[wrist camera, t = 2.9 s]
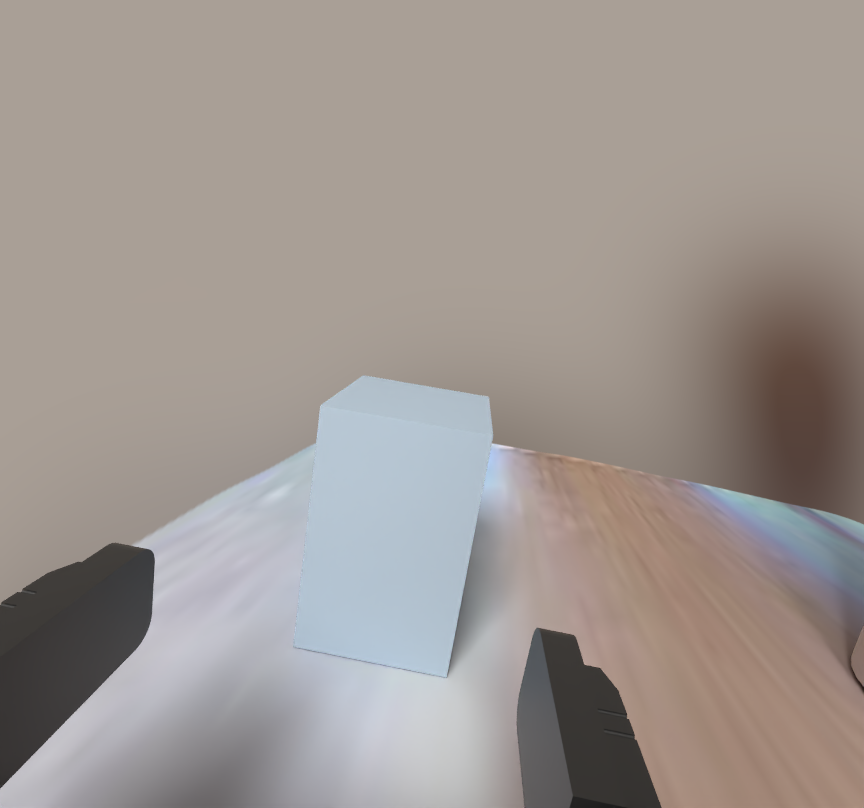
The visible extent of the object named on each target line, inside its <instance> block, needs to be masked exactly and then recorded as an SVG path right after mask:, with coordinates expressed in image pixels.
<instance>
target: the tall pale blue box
mask: <svg viewBox="0 0 864 808" xmlns="http://www.w3.org/2000/svg"><path fill="white" fill-rule="evenodd" d="M492 439H493V430H492V421H491V413H490V404H489V397H486V396H481V395H475V394H469V393H463V392H457V391H451V390H446V389H440V388H434V387H428V386H422V385H417V384H411V383H405V382H398V381H393V380H387V379H381V378H375V377H370V376H364V375H363V376H362V377H360V378H359V379H357V380H356V381H355V382H353V383H352V384H350V385H349V386H347V387H346V388H345V389H343V390H342V391H340V392H339V393H337V394H336V395H335V396H333V397H332V398H330V399H329V400H327V401H326V402H325V403H323V404H322V405H320V415H319V424H318V433H317V441H316V450H315V459H314V468H313V477H312V485H311V494H310V503H309V512H308V521H307V530H306V539H305V548H304V556H303V565H302V574H301V583H300V592H299V601H298V610H297V619H296V628H295V636H294V645H293V647H296V648H301V649H306V650H311V651H316V652H321V653H326V654H331V655H336V656H341V657H346V658H351V659H356V660H361V661H366V662H371V663H376V664H381V665H386V666H391V667H396V668H401V669H406V670H411V671H416V672H421V673H426V674H431V675H436V676H441V677H446V678H447V673H448V668H449V663H450V658H451V652H452V647H453V642H454V637H455V632H456V626H457V621H458V616H459V611H460V606H461V600H462V595H463V590H464V585H465V580H466V574H467V569H468V564H469V559H470V554H471V548H472V543H473V538H474V533H475V528H476V522H477V517H478V512H479V507H480V502H481V496H482V491H483V486H484V481H485V476H486V470H487V465H488V460H489V455H490V450H491V444H492Z"/></svg>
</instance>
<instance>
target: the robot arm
mask: <svg viewBox="0 0 864 808" xmlns="http://www.w3.org/2000/svg"><path fill="white" fill-rule="evenodd" d="M154 565H155V558H154V554H153V552H152V551H151V550H149V549H144V548H139V547H134V546H129V545H124V544H119V543H111V544H109V545H108V546H106V547H104V548H103V549H101V550H100V551H98V552H97V553H95V554H94V555H92V556H91V557H89V558H87V559H86V560H85V561H83V562H76V563H74V564H71V565H68V566H66V567H63V568H60V569H57V570H55V571H52V572H50V573H47V574H45V575H44V576H42V577H41V578H39V579H38V580H36V581H34V582H33V583H31V584H30V585H28V586H26V587H25V588H23V590H22V592H21V593H20V592H17V593H16V594H14V595H12V596H11V597H9V598H8V599H6V600H5V601H3V602H2V603H1V605H0V788H1V787H2V786H3V785H4V784H5V783H6V782H7V781H8V780H9V779H10V778H11V777H12V776H13V775H14V774H15V773H16V772H17V771H18V770H19V769H20V768H21V767H22V766H23V765H24V764H25V762H26V761H27V760H28V759H29V758H30V757H31V756H32V755H33V754H34V753H35V752H36V751H37V750H38V749H39V748H40V747H41V746H42V745H43V744H44V743H45V742H46V741H47V740H48V739H49V738H50V737H51V736H52V735H53V734H54V733H55V732H56V731H57V730H58V729H59V728H60V727H61V726H62V725H63V724H64V723H65V721H66V720H67V719H68V718H69V717H70V716H71V715H72V714H73V713H74V712H75V711H76V710H77V709H78V708H79V707H80V706H81V705H82V704H83V703H84V702H85V701H86V700H87V699H88V698H89V697H90V696H91V695H92V694H93V693H94V692H95V691H96V690H97V689H98V688H99V687H100V686H101V685H102V684H103V683H104V682H105V680H106V679H107V678H108V677H109V676H110V675H111V674H112V673H113V672H114V671H115V670H116V669H117V668H118V667H119V666H120V665H121V664H122V663H123V662H124V661H125V660H126V659H127V658H128V657H129V656H130V655H131V654H132V653H133V652H134V651H135V650H136V649H137V647H138V646H139V645H140V644H141V642H142V640H143V639H144V637H145V635H146V633H147V631H148V628H149V625H150V622H151V616H152V601H153V583H154ZM851 666H852V669H853V671H854V673H855V675H856V677H857V679H858V680H859V681H860V683H861V684H862V685H863V686H864V625H863V627H862V630H861V632H860V635H859V637H858V640H857V643H856V645H855V648H854V650H853V653H852V655H851ZM517 734H518V744H519V754H520V764H521V774H522V785H523V795H524V805H525V808H661V805H660V802H659V800H658V797H657V794H656V792H655V789H654V786H653V783H652V781H651V778H650V775H649V773H648V770H647V767H646V764H645V762H644V759H643V756H642V754H641V751H640V748H639V745H638V743H637V740H635V739H634V732H633V729H632V726H631V724H630V721H629V719H627V713H626V710H625V707H624V705H623V702H622V699H621V697H620V694H619V691H618V690H617V688H616V687H615V686H614V685H613V683H612V682H611V681H610V680H609V679H608V677H607V676H606V675H605V674H604V672H603V671H602V670H601V669H600V668H597V667H592V666H587V665H584V663H583V659H582V656H581V653H580V649H579V646H578V643H577V640H576V637H575V636H574V635H571V634H566V633H561V632H556V631H551V630H546V629H541V628H536V630H535V632H534V634H533V638H532V642H531V646H530V650H529V655H528V659H527V663H526V667H525V672H524V676H523V680H522V684H521V689H520V693H519V699H518V707H517Z"/></svg>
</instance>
